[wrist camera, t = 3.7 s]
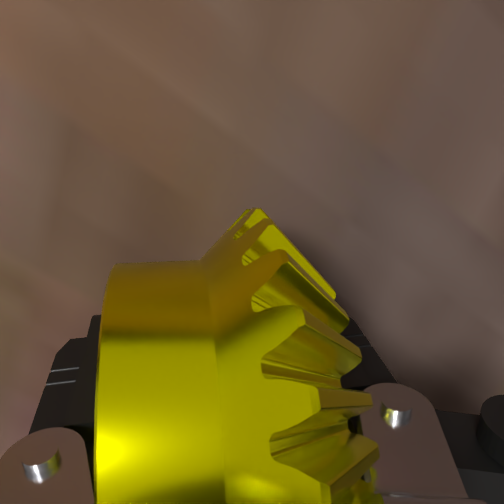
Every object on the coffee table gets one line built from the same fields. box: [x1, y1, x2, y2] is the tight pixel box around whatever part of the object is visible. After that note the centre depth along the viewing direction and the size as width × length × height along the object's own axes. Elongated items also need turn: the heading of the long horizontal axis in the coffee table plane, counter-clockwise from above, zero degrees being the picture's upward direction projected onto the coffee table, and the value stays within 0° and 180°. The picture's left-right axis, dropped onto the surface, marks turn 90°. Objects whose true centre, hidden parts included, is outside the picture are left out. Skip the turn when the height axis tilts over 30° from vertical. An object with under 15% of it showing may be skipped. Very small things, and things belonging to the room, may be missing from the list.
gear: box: [94, 208, 380, 504], centre depth 9 cm, size 8×4×8 cm, turn 178°
